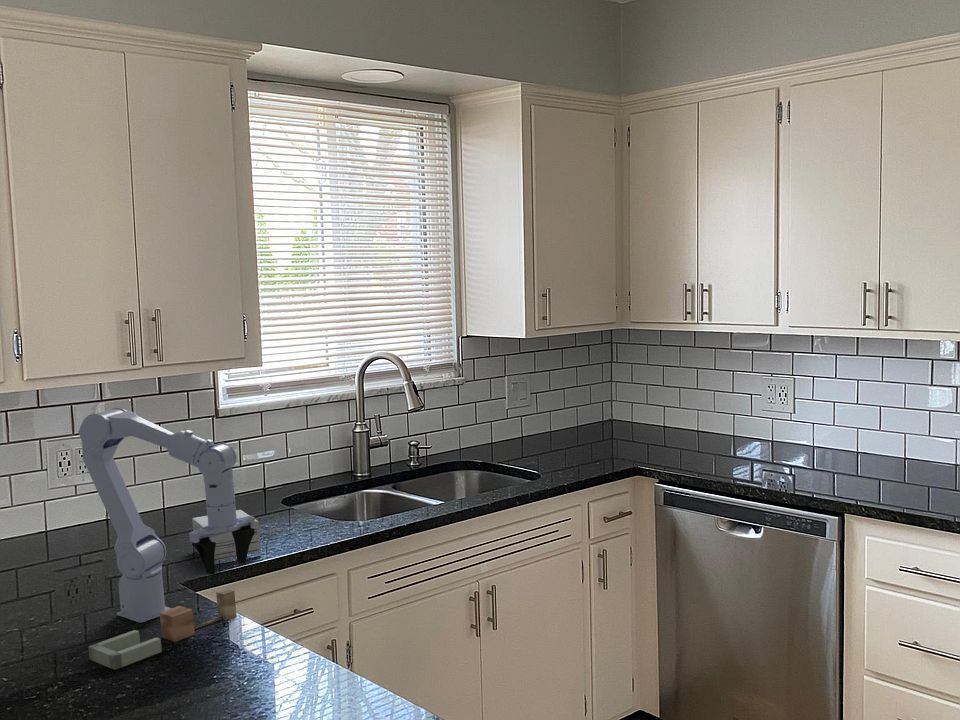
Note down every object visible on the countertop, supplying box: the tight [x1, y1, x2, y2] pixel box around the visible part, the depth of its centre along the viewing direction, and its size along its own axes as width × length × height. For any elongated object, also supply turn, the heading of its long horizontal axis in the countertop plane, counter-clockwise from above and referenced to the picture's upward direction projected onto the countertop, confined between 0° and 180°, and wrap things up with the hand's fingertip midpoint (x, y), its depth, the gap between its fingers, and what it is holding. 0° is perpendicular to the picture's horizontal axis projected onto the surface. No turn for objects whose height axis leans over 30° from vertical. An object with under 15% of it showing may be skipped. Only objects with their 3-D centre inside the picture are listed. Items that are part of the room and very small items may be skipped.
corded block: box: [159, 588, 238, 643], centre depth 188 cm, size 4×15×6 cm, turn 141°
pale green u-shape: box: [88, 629, 163, 671], centre depth 175 cm, size 9×10×2 cm
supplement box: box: [191, 509, 262, 560], centre depth 240 cm, size 17×13×9 cm
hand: (226, 568), depth 193 cm, fingers open, 7 cm apart
